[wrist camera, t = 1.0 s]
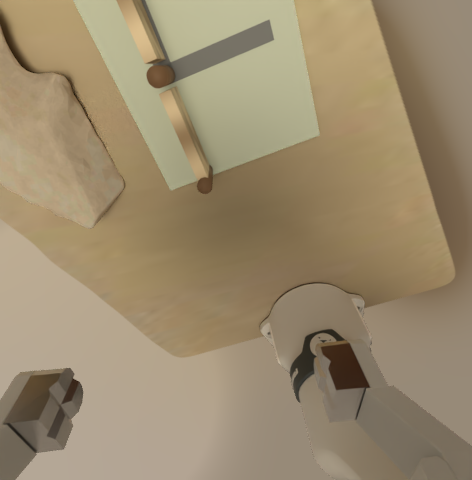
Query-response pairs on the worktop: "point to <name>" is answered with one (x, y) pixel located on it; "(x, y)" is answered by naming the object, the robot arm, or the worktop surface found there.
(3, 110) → the stone tool
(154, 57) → the fence fixed half
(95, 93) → the worktop surface
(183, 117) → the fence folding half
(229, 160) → the board
